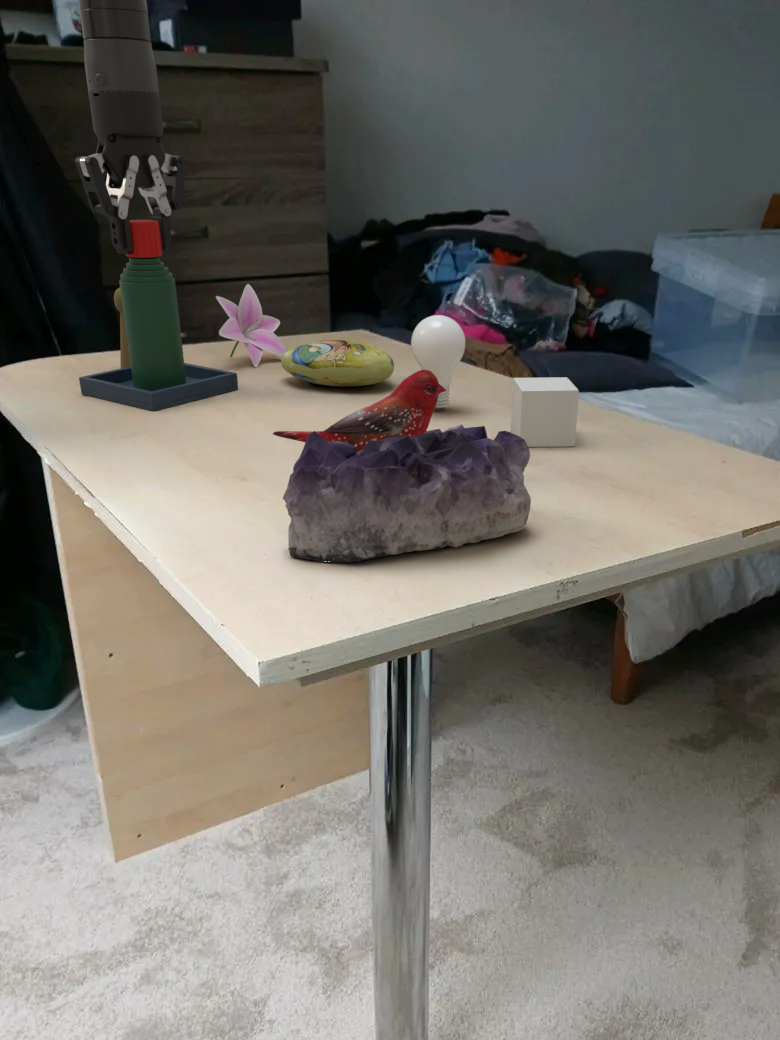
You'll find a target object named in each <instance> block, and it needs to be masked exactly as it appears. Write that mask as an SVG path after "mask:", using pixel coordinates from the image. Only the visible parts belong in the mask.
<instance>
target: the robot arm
mask: <svg viewBox="0 0 780 1040" xmlns="http://www.w3.org/2000/svg"><path fill="white" fill-rule="evenodd" d="M78 9H79V10H78V11H79V17H80V25H81V30H82V38H83V50H84V51H83V53H84V54H83V56H84V57H83V59H84V61H83V62H84V69H85V70H84V71H85V77H86V85H87V93H88V100H89V106H90V116H91V121H92V130H93V132H94V134H95V135H96V137H97V146H96V151H95V153H92V154H90V155H88V156H77V157H75V160H74V162H75V166H76V169H77V172H78V175H79V178H80V181H81V184H82V187H83V190H84V192H85V195H86V198H87V202H88V204H89V206H90V210H91V211H92V212H93V213H94V214H100V215H102V216H105V217H106V218H107V220H108V223H109V230H110V237H111V244H112V246H113V249H114V250H116V252H117V254H120V255H126V254H132V253H133V245H132V237H131V230H130V222H129V220H130V219H127V217H128V214H129V205H130V201H131V200H132V199H133V196H134V191H135V189H138V191H139V194H140V195H141V196H142V197H143V198H144V200H145V202H146V205H147V207H148V209H149V212H150V214H151V216H149V220H156V221H158V223H159V228H160V236H161V245H162V251H169V250H170V249H171V245H172V241H173V240H172V239H173V238H172V230H171V220H170V216H171V214H172V213H173V212H175V211H177V210H179V211H180V210H181V209H182V208H183V202H184V191H185V179H186V178H185V176H186V165H187V163H186V162H187V161H186V158H185V157H184V156H182V155H172V154H169V153H166V151H165V148H164V147H163V143H162V142H161V138H162V136H163V134H164V125H163V124H164V123H163V116H162V107H161V106H162V105H161V98H160V97H161V96H160V88H159V77H158V70H157V65H156V64H157V63H156V59H155V55H154V50H153V45H152V39H151V30H150V29H151V27H150V20H149V19H150V18H149V10H148V3H147V0H78ZM161 171H162V174H161ZM105 172H106V180H105V177H104V173H105Z"/></svg>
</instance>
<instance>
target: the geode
mask: <svg viewBox="0 0 780 1040" xmlns="http://www.w3.org/2000/svg"><path fill="white" fill-rule="evenodd" d="M530 458H531V452H530V447H528V446H527V443H526V441H525V440H524V439H523V438H521V437H519V436H517V435H515V434H513V433H511V431H507V430H501V431H498V432H497V434H496V436H495V438H494V439H492V438H490V437H488V434H487V430H486V426H485V425H480V426H470V427H465V426H464V425H463V424H462V423H460V424H458V425H455V426H453V427H449V428H446V430H444V431H442V429H440V428H436V429H430V430H426V432H425V433H424V434H419V435H415V436H412V437H409V436H402V435H399V436H396V437H389V438H386V439H383V440H378V441H377V442H376V441H374V440H370V441H369V442H368V443H367V444H366V446H365V447H364V448H363V450H361V451H358V452H356V447H355V446H354V445H351V444H349V443H347V442H340V441H334V442H328V441H326V440H325V439H324V438H322V437H321V436H320V435H319V434H318V433H317V432H316V430H313V431H312V433H311V434H310V435H309V436H308V438H307V439H306V442H304V445H303V448H302V450H301V453H300V455H299V456H298V459H297V460H296V461H295V463H294V464H293V468H292V472H291V474H290V475H289V480H288V482H287V486H286V489H285V491H284V493H283V496H282V500H283V501H284V502H285V508H286V510H287V514H288V516H289V517H290V522H289V525H288V533H287V535H288V539H287V540H288V549H287V550H288V551H289V556H290V557H292V558H296V559H305V560H311V561H318V562H321V561H327V562H328V561H332V562H331V563H346V564H347V563H359V562H362V561H365V560H370V559H376V558H380V557H387V556H394V555H399V554H400V555H401V554H403V553H412V552H421V551H428V550H438V549H439V550H440V549H443V548H445V547H447V546H449V547H453V548H459V547H458V546H460V547H462V546H463V545H464V544H477V543H479V542H480V541H482V540H490V539H496V538H500V537H503V536H504V535H508V534H512V533H513V534H514V533H517V532H521V531H523V530H524V529H525V526H526V524H527V522H528V520H529V515H530V510H531V502H532V500H531V495H530V493H529V491H528V489H527V488H526V486H525V475H524V472H525V469H526V468H527V466H528V464H529V461H530Z"/></svg>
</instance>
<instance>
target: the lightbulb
mask: <svg viewBox="0 0 780 1040" xmlns="http://www.w3.org/2000/svg"><path fill="white" fill-rule="evenodd" d="M466 341H467V340H466V335H465V332H464V330H463V328H462V326H461V325H460V324H459V323H458V322H457V321H456V320H455V319H453V318H452V317H449V316H447V315H443V314H433V315H430V316H427V317H425V318H423V319H422V320H421V321H419V322H418V323H417V324H416V326H415V327H414V329H413V331H412V334H411V338H410V347H411V352H412V355H413V357H414V359H415V361H416V363H417V364H418V366H419V367H420V370H429V371H431V372H432V373H433V374H434V375H435V376H436V377H437V379H438V383H439V384H440V385H441V386H443V387H444V388H445V389H446V391H444V392H441V393H440V394H439V395H438V399H437V404H436V407H435V409H434V411H438V412H439V411H443V410H444V409H446V408H447V407H449V405H450V393H449V392H450V385H451V383H452V381H453V377H454V372H455V370H456V368H457V366H458V365H459V364H460V362H461V360H462V359H463V358H464V357H463V356H464V354H465V351H466V345H467V343H466Z"/></svg>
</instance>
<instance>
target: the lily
mask: <svg viewBox="0 0 780 1040" xmlns="http://www.w3.org/2000/svg"><path fill="white" fill-rule="evenodd" d="M215 299H216V300H217V302H218V303H219V304H220V305H219V306H221V308H222V309H223V310H224V312H225V314H226V315H227V317H229V318H228V319H227V320H226V321H225V322H224V323H223V324H222V326H221V327H220V329H219V330H218V336H220V337H222V338H225V339H229V340H234V341H236V342H235V344H234V346H233V348H232V350H231V353H230V355H229V358H231V357H232V358H233V355H234V354H235V351H236V349H237V347H238V345H239V343H240V342H241V343H243V344H244V346H245V349H246V351H247V353H248V356H249V358H250V360H251V362H252V364H253V366H254V367H255V368H258V366H259V364H260V362H261V359H262V357H263V352H264V351H267V352H268V353H269V352H270V353H272V354H274V355H276V356H279V357H280V358H281V356H282V355H283V353H285V352H286V351H287V350H288V349H287V348H286V346H285V344H284V343H283V341H282V340H281V339H280V338H279V336H278V335H276V333H274V332H275V331H276V330H277V329H278V328H279V326H280V325H281V321H280V319H278V318H276V317H273V316H271V315H267V314H263V308H262V305H261V302H260V300H259V297H258V295H257V293H256V291H255V290H254V289H253V287H252V286H251V285H250V284H249V283H246V285H245V287H244V289H243V292H242V294H241V297H240V300H239V303H238V305H237V304H236V303H234V302H233V301H231V300H229V299H227V298H225V297H222V296H219V295H216V296H215ZM263 350H264V351H263Z"/></svg>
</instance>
